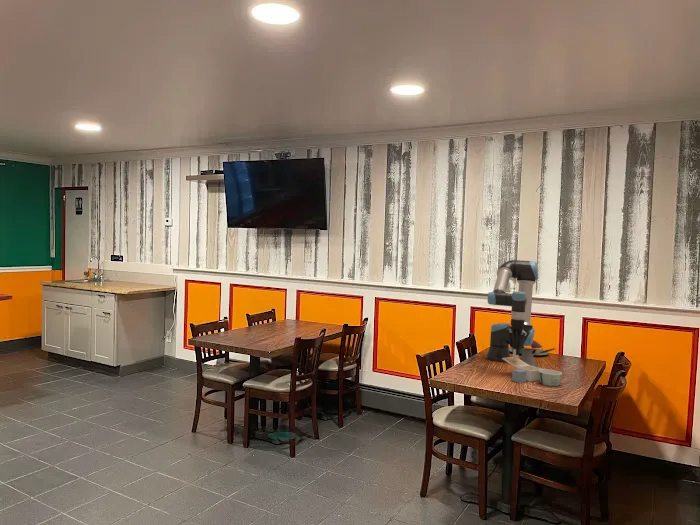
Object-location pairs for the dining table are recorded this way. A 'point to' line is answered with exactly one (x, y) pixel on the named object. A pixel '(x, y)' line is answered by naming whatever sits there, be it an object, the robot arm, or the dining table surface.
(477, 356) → the dining table surface
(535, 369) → the mailer base
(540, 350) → the sailing ship model
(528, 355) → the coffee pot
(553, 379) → the food container
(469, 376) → the dining table surface
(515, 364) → the lid
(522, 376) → the block
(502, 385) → the dining table surface
